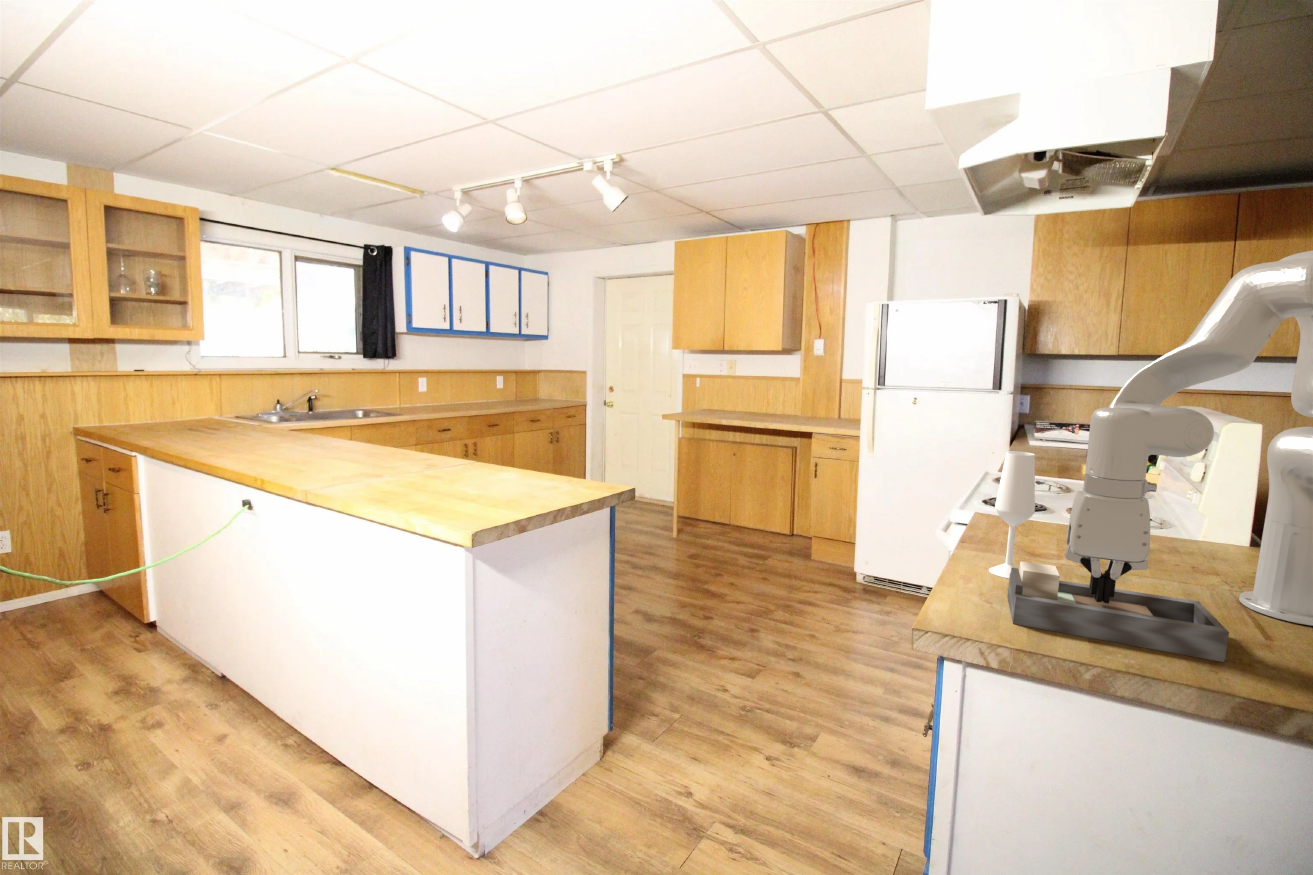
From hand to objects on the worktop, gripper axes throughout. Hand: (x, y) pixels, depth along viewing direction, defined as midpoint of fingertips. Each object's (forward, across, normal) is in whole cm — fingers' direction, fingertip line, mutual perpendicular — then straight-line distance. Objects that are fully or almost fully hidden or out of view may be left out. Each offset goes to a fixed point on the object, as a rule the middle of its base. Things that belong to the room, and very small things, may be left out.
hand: (1100, 599), depth 97 cm
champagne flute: (+4, +11, -20) cm, 23 cm away
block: (+1, +9, 0) cm, 9 cm away
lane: (+4, -1, 0) cm, 4 cm away
